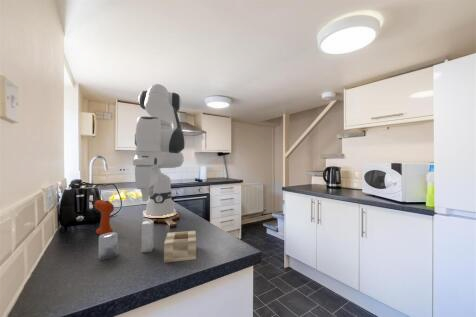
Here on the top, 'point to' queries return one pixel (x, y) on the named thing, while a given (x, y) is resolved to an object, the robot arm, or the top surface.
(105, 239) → the round bit
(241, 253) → the top surface
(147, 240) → the square bit
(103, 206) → the toy drill
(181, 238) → the socket block
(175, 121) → the robot arm
